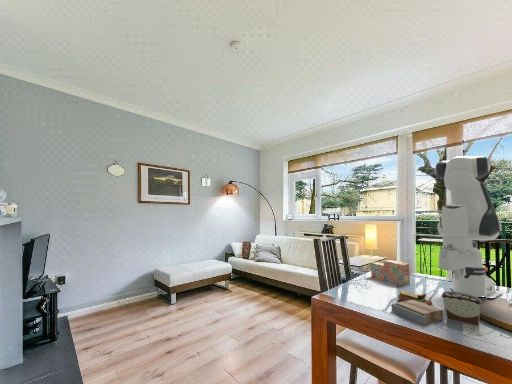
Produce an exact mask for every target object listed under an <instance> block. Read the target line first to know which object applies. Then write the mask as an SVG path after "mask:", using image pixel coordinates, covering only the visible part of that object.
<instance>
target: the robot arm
mask: <svg viewBox="0 0 512 384" xmlns="http://www.w3.org/2000/svg"><path fill="white" fill-rule="evenodd" d="M491 167H492V166H491V162H490V160H489V159H488V157H486V156H482V155H479V156H461V155H460V156H459V155H458V156H454V157H452V158H450V159H447V160H441V161H438V162H437V163H436V164H435V167H434V174H435V176H436V177H437V179H440V180H443V181H444V186H445V188H446V189H447V190H448V191H449V192H450V199H451V201H450V203H446V204H444V205H442V207H441V216H440V217H439V222H438V224H437V226H436V227H437V231H438V233H439V235H440V236H442V247H441V249H440V250H439V253H438V267H439V269H441V270H444V271H447V272H448V271H452V280H451V281H452V285H450V286H449V289H451V290H452V292H460V293H465V294H469V295H473V296H476V297H482V296H484V297H492V296H493V297H495V296H497V295H498V294H500V293H502V292H501V291H500V290H496V287H495V285H496V284H495V282H494V281H493V280H492V279H491V278H490V277H489V276H488V275H487V273H486V272H488V270H489V269H488V267H485V266H484V265H483V254H482V252H481V251H480V250H479V248H478V242H477V241H481V242H482V241H484V242H485V241H494V240H496V239H497V238H498V236H500V232H501V228H502V223H501V220H500V217H499V216H498V214H497V212H496V210H495V208H494V205H493V202H492V199H491V196H490V194H489V192H488V189H487V186H486V185H485V183H484V182H483V181H480V180H481V179H482V178H484V177H486V176H487V175H489V172H490V170H491ZM476 178H478V180H477V179H476Z"/></svg>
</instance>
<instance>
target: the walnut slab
mask: <svg viewBox="0 0 512 384" xmlns="http://www.w3.org/2000/svg"><path fill="white" fill-rule="evenodd" d="M395 303H396V305H399V306H401V307H404V308H406V309H409V310H411V311H414V312H416V313H419V314H421V315H424V316H426V319H427V324H428V323H429V324H430V323H433V322H437V321H443V320H444V312H443V309H441V308H438V307H435V306H433V305H432V306H430V305H427V304H425V303H422V302H419V301H416V300H409V301H398V303H397V302H395Z"/></svg>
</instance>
